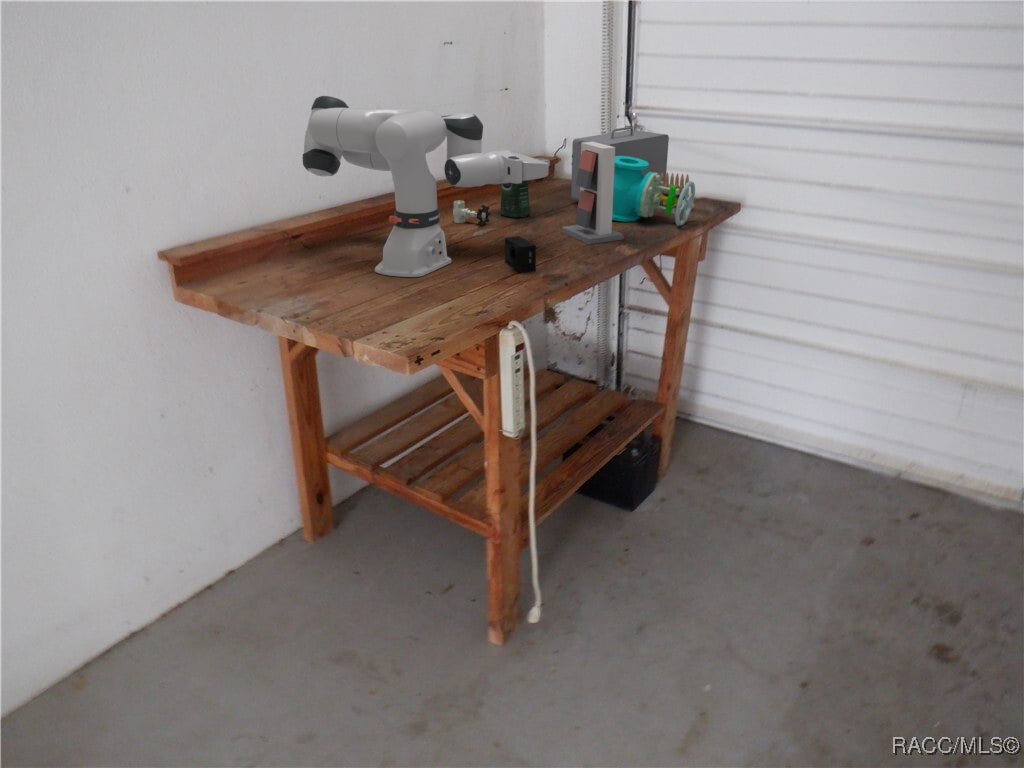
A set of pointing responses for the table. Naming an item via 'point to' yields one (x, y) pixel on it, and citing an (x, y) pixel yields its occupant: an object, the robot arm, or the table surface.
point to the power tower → (598, 198)
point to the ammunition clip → (681, 186)
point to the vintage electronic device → (626, 151)
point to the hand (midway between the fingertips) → (547, 162)
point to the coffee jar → (515, 199)
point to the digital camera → (520, 254)
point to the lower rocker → (584, 209)
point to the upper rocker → (585, 169)
